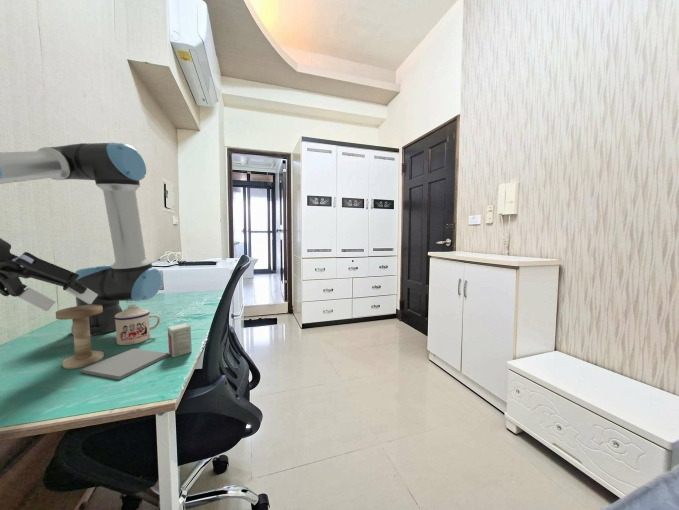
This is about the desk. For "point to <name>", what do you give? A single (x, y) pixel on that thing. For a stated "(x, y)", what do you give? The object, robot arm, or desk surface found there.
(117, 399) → the desk surface
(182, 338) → the small box
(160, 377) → the desk surface
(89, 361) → the stool
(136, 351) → the mat
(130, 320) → the teacup with lid
